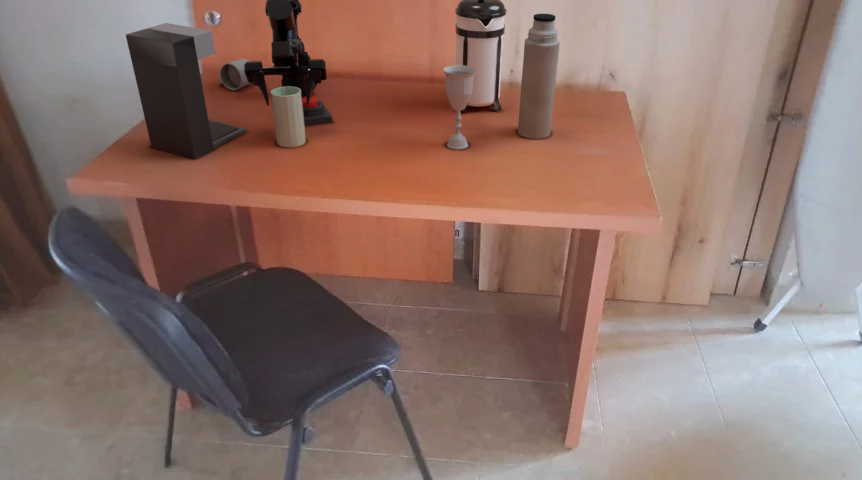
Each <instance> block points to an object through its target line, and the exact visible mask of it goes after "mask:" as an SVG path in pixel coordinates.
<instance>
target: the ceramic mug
mask: <svg viewBox="0 0 862 480" xmlns="http://www.w3.org/2000/svg"><path fill="white" fill-rule="evenodd" d="M249 61H250V59H247V58H240V59H236V60H232V61H229V62H225V63H224V64H222V66H221V67H220V70H219V77H220V78H218V82H219V84H220V85H224V87H225V88H227V90H230V91H238V90H241V89H242V88H244V87H246V86H249V85H251V84H252V83H249V82H248V81H247V78H246V75H245V72H244V64H245V63H246V62H249Z"/></svg>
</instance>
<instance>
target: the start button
mask: <svg viewBox="0 0 862 480" xmlns="http://www.w3.org/2000/svg"><path fill="white" fill-rule="evenodd" d="M317 100H318V98H317V97H316V96H311V99H310V102H309V104H307V101H306V96H304V97H302V104H303V108H314V107H317V106H318V101H319V100H318V101H317Z"/></svg>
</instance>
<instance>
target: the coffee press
mask: <svg viewBox="0 0 862 480" xmlns="http://www.w3.org/2000/svg"><path fill="white" fill-rule="evenodd" d="M505 7H506V6H505V4H504V3H503V1H501V0H460V2H458V4H457V7H455V10H454V13H455V15H456V23H455V35H456V36H455V65H464V66H470V67H473V68H475V69H476V71H475V73H474V75H473V92H472V94H471V97H470V100H469V101H468V103H467V105H466V107H465V109H463V110H461V113H463V114H464V113H466V112H467V109H468V108H469V107H486V106H487V107H488V106H489V107H492V109H493V110H494V111H495V112H499V111H501V110H502V107H503V106H502V104H501V103H500V101H499V100H500V96H501V86H502V85H501V82H502V81H501V80H502V67H503V51H504V35H505V31H506V25H505V19H506V18H505V17H506V15H507V9H506V8H505Z"/></svg>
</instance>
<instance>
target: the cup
mask: <svg viewBox="0 0 862 480" xmlns="http://www.w3.org/2000/svg"><path fill="white" fill-rule="evenodd" d="M302 98H303V97H302V94H301V90H300V88H297V87H292V86H285V87H282V86H278V87H275V88H274V89H271V90H270V99H271V107H272V115H273V116H272V117H273V122H274V131H275V138H276V140H275V141H276V144H277V146H279V147H282V148H297V147H300V146H303V145H305V144H306V142H307V137H306V136H307V135H306V126H305V124H304V114H303V104H302Z"/></svg>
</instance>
